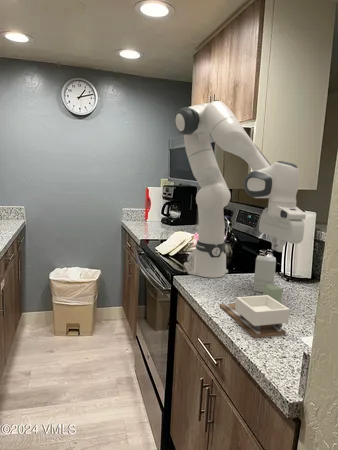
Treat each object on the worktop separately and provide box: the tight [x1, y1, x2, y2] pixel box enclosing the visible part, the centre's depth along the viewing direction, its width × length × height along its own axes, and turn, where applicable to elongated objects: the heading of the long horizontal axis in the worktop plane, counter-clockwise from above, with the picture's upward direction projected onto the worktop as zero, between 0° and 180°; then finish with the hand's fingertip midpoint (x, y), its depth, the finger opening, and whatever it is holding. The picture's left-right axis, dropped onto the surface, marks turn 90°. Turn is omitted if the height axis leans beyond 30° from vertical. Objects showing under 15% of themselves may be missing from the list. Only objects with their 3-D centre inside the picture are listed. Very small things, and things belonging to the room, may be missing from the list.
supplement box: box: [253, 255, 277, 293], centre depth 135 cm, size 7×7×13 cm
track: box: [219, 302, 287, 339], centre depth 107 cm, size 22×10×1 cm, turn 18°
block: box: [262, 284, 284, 304], centre depth 121 cm, size 4×4×6 cm
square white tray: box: [235, 294, 291, 330], centre depth 101 cm, size 11×11×6 cm
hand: (276, 250), depth 119 cm, fingers closed
